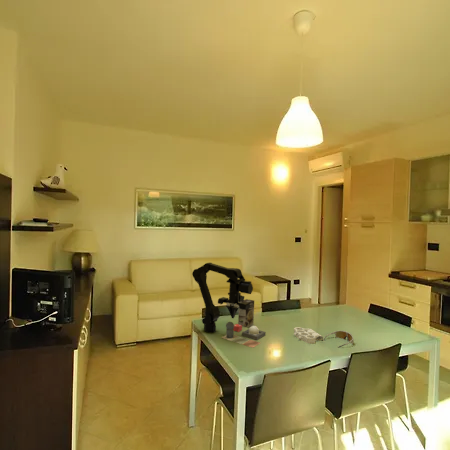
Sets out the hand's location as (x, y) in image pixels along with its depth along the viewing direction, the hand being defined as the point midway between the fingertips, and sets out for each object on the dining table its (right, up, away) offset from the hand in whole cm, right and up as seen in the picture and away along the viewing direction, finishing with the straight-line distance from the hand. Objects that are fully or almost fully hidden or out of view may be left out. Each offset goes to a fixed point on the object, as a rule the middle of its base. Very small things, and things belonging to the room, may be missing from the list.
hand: (232, 318), depth 176 cm
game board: (+4, -12, -5) cm, 13 cm away
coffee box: (+9, -12, +23) cm, 27 cm away
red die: (+3, -12, +11) cm, 16 cm away
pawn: (-2, -11, 0) cm, 11 cm away
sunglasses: (+61, -14, +1) cm, 62 cm away
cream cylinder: (+12, -11, +3) cm, 17 cm away
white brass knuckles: (+44, -14, +6) cm, 46 cm away
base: (+12, -12, +3) cm, 17 cm away
